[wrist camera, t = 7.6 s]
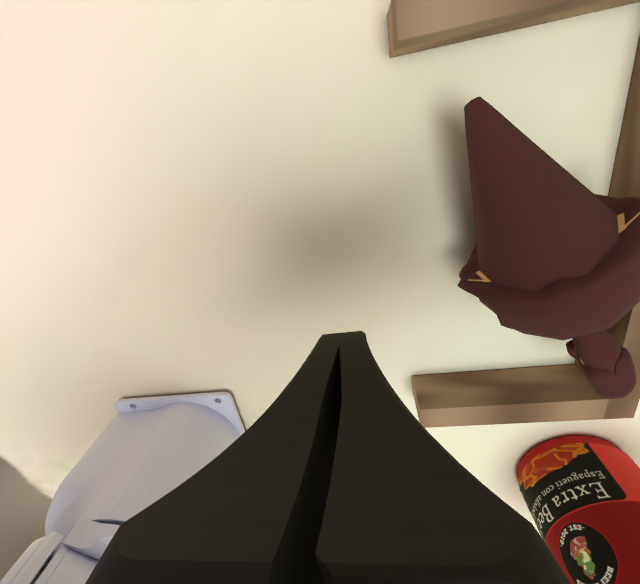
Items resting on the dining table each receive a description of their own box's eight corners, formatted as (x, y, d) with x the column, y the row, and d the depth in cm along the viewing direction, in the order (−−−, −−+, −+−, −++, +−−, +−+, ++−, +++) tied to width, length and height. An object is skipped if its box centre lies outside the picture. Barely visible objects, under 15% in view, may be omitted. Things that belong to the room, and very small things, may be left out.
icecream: (372, 194, 11) (536, 431, 17) (663, 8, 7) (749, 404, 13) (388, 140, 16) (508, 334, 22) (559, 15, 12) (652, 292, 18)
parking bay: (412, 392, 23) (420, 427, 20) (387, 15, 14) (395, -13, 11) (597, 380, 21) (633, 417, 18) (703, -63, 12) (805, -119, 9)
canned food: (564, 416, 22) (730, 639, 12) (654, 459, 23) (875, 698, 13) (490, 477, 26) (576, 691, 16) (572, 512, 27) (700, 735, 17)
